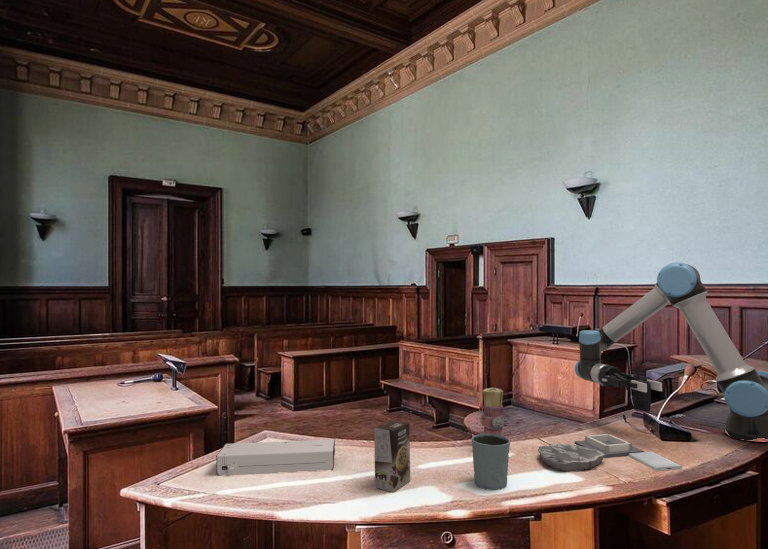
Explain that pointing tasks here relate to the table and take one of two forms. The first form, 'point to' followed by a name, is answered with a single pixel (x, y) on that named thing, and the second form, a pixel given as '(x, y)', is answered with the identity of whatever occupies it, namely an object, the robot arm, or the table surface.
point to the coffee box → (392, 455)
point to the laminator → (275, 457)
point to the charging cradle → (609, 445)
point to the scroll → (492, 411)
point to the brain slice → (570, 457)
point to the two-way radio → (642, 395)
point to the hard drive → (654, 461)
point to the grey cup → (490, 460)
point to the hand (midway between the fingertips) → (653, 387)
